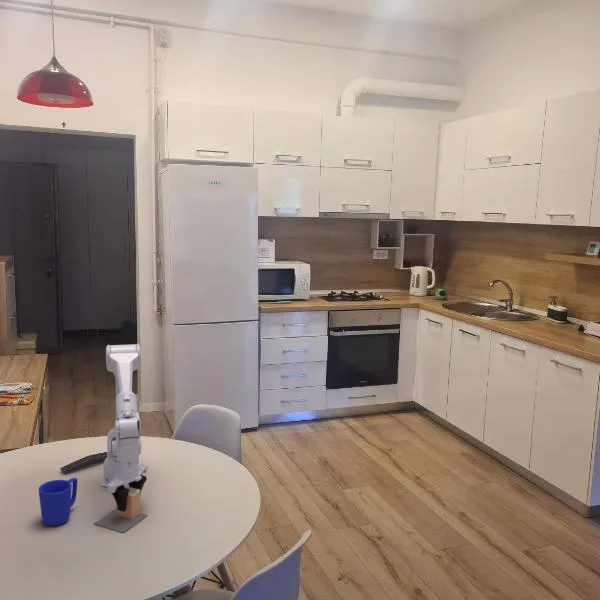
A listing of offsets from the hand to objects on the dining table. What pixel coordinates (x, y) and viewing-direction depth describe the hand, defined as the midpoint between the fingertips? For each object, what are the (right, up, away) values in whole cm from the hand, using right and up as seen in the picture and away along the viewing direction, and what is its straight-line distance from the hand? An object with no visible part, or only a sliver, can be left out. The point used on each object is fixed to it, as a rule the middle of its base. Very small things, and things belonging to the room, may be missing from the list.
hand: (128, 506), depth 162 cm
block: (0, -2, 0) cm, 2 cm away
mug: (-18, -3, -2) cm, 18 cm away
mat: (-1, -3, -2) cm, 4 cm away
